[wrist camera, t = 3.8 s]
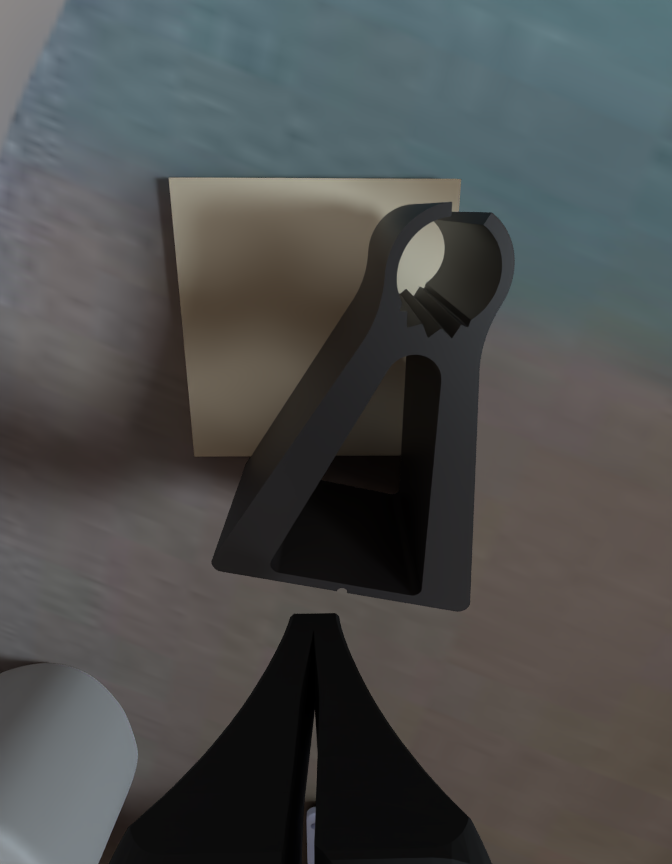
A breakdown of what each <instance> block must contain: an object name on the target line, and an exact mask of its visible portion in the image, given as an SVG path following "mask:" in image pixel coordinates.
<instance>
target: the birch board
mask: <svg viewBox="0 0 672 864" xmlns="http://www.w3.org/2000/svg"><path fill="white" fill-rule="evenodd" d="M169 186H170V197H171V208H172V219H173V230H174V241H175V252H176V262H177V273H178V284H179V295H180V306H181V317H182V328H183V338H184V349H185V360H186V371H187V382H188V393H189V404H190V414H191V425H192V436H193V447H194V457H222V456H252V454H253V452H254V451H255V449H256V448H257V446H258V445H259V443H260V441H261V440H262V438H263V437H264V435H265V434H266V432H267V431H268V429H269V428H270V426H271V425H272V423H273V421H274V420H275V418H276V417H277V415H278V414H279V412H280V411H281V409H282V408H283V406H284V405H285V403H286V402H287V400H288V398H289V397H290V395H291V394H292V392H293V391H294V389H295V388H296V386H297V385H298V383H299V382H300V380H301V379H302V377H303V375H304V374H305V372H306V371H307V369H308V368H309V366H310V365H311V363H312V362H313V360H314V359H315V357H316V355H317V354H318V352H319V351H320V349H321V348H322V346H323V345H324V343H325V342H326V340H327V339H328V337H329V336H330V334H331V332H332V331H333V329H334V328H335V326H336V325H337V323H338V322H339V320H340V319H341V317H342V316H343V314H344V313H345V311H346V309H347V308H348V306H349V305H350V303H351V302H352V300H353V299H354V297H355V295H356V294H357V292H358V290H359V288H360V285H361V283H362V280H363V277H364V274H365V270H366V265H367V259H368V248H369V242H370V239H371V236H372V233H373V231H374V229H375V228H376V226H377V224H378V223H379V222H380V221H381V219H382V218H383V217H384V216H385V215H387V214H388V213H389V212H391V211H392V210H394V209H396V208H398V207H401V206H404V205H409V204H423V203H439V202H452V212H459V201H460V186H461V179H360V178H169ZM444 250H445V245H444V239H443V235H442V233H441V231H440V229H439V227H438V226H437V225H436V223H435V222H434V221H433V222H431V223H429V224H428V225H426V226H425V227H423V228H422V229H421V230H420V231H418V232H417V233H416V234H415V235H414V237H413V238H412V239H411V240H410V242H409V243H408V244H407V246H406V248H405V249H404V251H403V254H402V256H401V259H400V262H399V265H398V271H397V288H398V292H399V293H401V292H403V291H404V290H405V289H407V290H408V291H409V292H410V293H411V294H412V295H413V296H414V295H415V293H416V291H417V290H418V288H419V287H422V288H424V287H425V284H426V283H427V282H428V281H429V280H430V279H431V278H432V277H433V276H434V275H435V274H436V273H437V271H438V270H439V268H440V266H441V264H442V261H443V257H444ZM405 369H406V356H405V357H402V358H400V359H399V360H397V361H396V362H395V363H394V364H393V365H392V366H391V367H390V368H389V370H388V371H387V373H386V374H385V376H384V378H383V379H382V381H381V383H380V384H379V386H378V387H377V389H376V391H375V392H374V394H373V396H372V397H371V399H370V400H369V402H368V404H367V405H366V407H365V409H364V410H363V412H362V413H361V415H360V417H359V418H358V420H357V422H356V423H355V425H354V426H353V428H352V430H351V431H350V433H349V435H348V436H347V438H346V440H345V441H344V443H343V444H342V446H341V448H340V449H339V451H338V453H337V454H336V456H360V455H401V444H402V425H403V407H404V388H405Z"/></svg>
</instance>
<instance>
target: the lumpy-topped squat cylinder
mask: <svg viewBox="0 0 672 864" xmlns="http://www.w3.org/2000/svg"><path fill="white" fill-rule="evenodd" d="M137 760H138V750H137V745H136V741H135V738H134V735H133V732H132V729H131V726H130V724H129V721H128V719H127V716H126V714H125V712H124V710H123V709H122V707H121V706H120V704H119V703H118V701H117V700H116V699H115V698H114V697H113V695H112V694H111V693H110V692H109V691H108V690H107V689H106V688H105V687H104V686H103V685H102V684H101V683H100V682H99V681H97V680H96V679H95V678H93V677H92V676H90V675H89V674H87V673H85V672H84V671H81V670H79V669H77V668H74V667H71V666H67V665H63V664H56V663H38V664H31V665H26V666H21V667H17V668H14V669H10V670H7V671H5V672H2V673H0V864H98V863H99V861H100V859H101V856H102V854H103V851H104V849H105V847H106V844H107V842H108V839H109V837H110V835H111V832H112V830H113V827H114V825H115V823H116V820H117V818H118V816H119V813H120V811H121V808H122V806H123V804H124V801H125V799H126V796H127V794H128V791H129V789H130V786H131V783H132V780H133V777H134V774H135V770H136V766H137Z"/></svg>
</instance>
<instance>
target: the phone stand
mask: <svg viewBox="0 0 672 864" xmlns="http://www.w3.org/2000/svg"><path fill="white" fill-rule="evenodd" d="M433 221H434V222H435V223H436V225H437V226H438V227H439V229H440V231H441V233H442V235H443V239H444V245H445V250H444V257H443V261H442V264H441V266H440V268H439V270H438V271H437V273H436V274H435V275H434V276H433V277H432V278H431V279H430V280H429V281H428V282H427V283H426V284H425V287H424V288H422V287H419V288H418V290H417V291H416V293H415V295H414V296H413V295H412V294H411V293H410V292H409V291H408V290H407V289H405V290H404V291H403V292H401V293H399V292H398V288H397V271H398V265H399V262H400V259H401V256H402V254H403V251H404V249H405V248H406V246H407V244H408V243H409V242H410V240H411V239H412V238H413V237H414V235H415V234H416V233H417V232H418V231H420V230H421V229H422V228H423V227H425V226H426V225H428V224H429V223H431V222H433ZM514 263H515V260H514V250H513V245H512V241H511V238H510V236H509V234H508V231H507V230H506V228H505V226H504V225H503V223H502V222H501V221H500V220H499V219H498V218H497V217H496V216H495V215H494V214H493V213H487V212H452V202H439V203H423V204H409V205H404V206H401V207H398V208H396V209H394V210H392V211H391V212H389V213H388V214H387V215H385V216H384V217H383V218H382V219H381V221H380V222H379V223H378V224H377V226H376V228H375V229H374V231H373V233H372V236H371V239H370V242H369V248H368V259H367V265H366V270H365V274H364V277H363V280H362V283H361V285H360V288H359V290H358V292H357V294H356V295H355V297H354V299H353V300H352V302H351V303H350V305H349V306H348V308H347V309H346V311H345V313H344V314H343V316H342V317H341V319H340V320H339V322H338V323H337V325H336V326H335V328H334V329H333V331H332V332H331V334H330V336H329V337H328V339H327V340H326V342H325V343H324V345H323V346H322V348H321V349H320V351H319V352H318V354H317V355H316V357H315V359H314V360H313V362H312V363H311V365H310V366H309V368H308V369H307V371H306V372H305V374H304V375H303V377H302V379H301V380H300V382H299V383H298V385H297V386H296V388H295V389H294V391H293V392H292V394H291V395H290V397H289V398H288V400H287V402H286V403H285V405H284V406H283V408H282V409H281V411H280V412H279V414H278V415H277V417H276V418H275V420H274V421H273V423H272V425H271V426H270V428H269V429H268V431H267V432H266V434H265V435H264V437H263V438H262V440H261V441H260V443H259V445H258V446H257V448H256V449H255V451H254V452H253V454H252V456H251V457H250V458H249V460H248V461H247V463H246V465H245V468H244V471H243V474H242V476H241V479H240V482H239V485H238V488H237V491H236V493H235V496H234V499H233V502H232V505H231V508H230V510H229V513H228V516H227V519H226V522H225V525H224V527H223V530H222V533H221V536H220V539H219V542H218V544H217V547H216V550H215V553H214V556H213V559H212V565H213V567H214V568H215V569H216V570H218V571H222V572H228V573H233V574H239V575H245V576H251V577H257V578H263V579H269V580H275V581H280V582H286V583H292V584H298V585H304V586H310V587H316V588H322V589H327V590H333V591H337V590H338V589H339V588H345V589H346V590H347V593H351V594H357V595H363V596H369V597H374V598H380V599H386V600H392V601H398V602H404V603H410V604H416V605H422V606H427V607H433V608H439V609H445V610H451V611H463V610H465V609H467V608H468V607H469V605H470V589H471V564H472V539H473V514H474V490H475V465H476V440H477V415H478V391H479V368H480V359H481V353H482V349H483V345H484V341H485V338H486V335H487V333H488V330H489V327H490V325H491V323H492V321H493V319H494V317H495V315H496V313H497V311H498V310H499V308H500V306H501V305H502V303H503V301H504V300H505V298H506V296H507V294H508V291H509V289H510V286H511V283H512V279H513V274H514ZM405 356H406V369H405V388H404V407H403V425H402V444H401V463H400V482H399V491H398V492H397V493H396V494H388V493H383V492H378V491H373V490H367V489H362V488H357V487H352V486H347V485H342V484H337V483H332V482H327V481H322V480H321V479H322V477H323V475H324V474H325V472H326V470H327V469H328V467H329V466H330V464H331V462H332V461H333V459H334V457H335V456H336V454H337V453H338V451H339V449H340V448H341V446H342V444H343V443H344V441H345V440H346V438H347V436H348V435H349V433H350V431H351V430H352V428H353V426H354V425H355V423H356V422H357V420H358V418H359V417H360V415H361V413H362V412H363V410H364V409H365V407H366V405H367V404H368V402H369V400H370V399H371V397H372V396H373V394H374V392H375V391H376V389H377V387H378V386H379V384H380V383H381V381H382V379H383V378H384V376H385V374H386V373H387V371H388V370H389V368H390V367H391V366H392V365H393V364H394V363H395V362H396V361H397V360H399V359H400V358H402V357H405Z"/></svg>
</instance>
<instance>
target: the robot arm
mask: <svg viewBox="0 0 672 864" xmlns="http://www.w3.org/2000/svg"><path fill="white" fill-rule="evenodd" d="M314 712H315V717H316V733H317V748H318V761H317V789H316V807H312V808H310V809H309V810H308V811H307V818H306V821H307V859H308V864H492V863H491V861H490V858H489V856H488V853H487V851H486V849H485V847H484V845H483V842H482V840H481V838H480V836H479V834H478V832H477V830H476V828H475V826H474V824H473V822H472V820H471V819H470V818H469V817H468V816H467V815H466V814H465V813H464V812H463V811H462V810H461V809H460V808H459V807H458V806H457V805H456V804H455V803H454V802H453V801H452V800H451V799H450V798H449V797H448V796H447V795H446V794H445V793H444V792H443V791H442V789H441V788H440V787H439V786H438V785H437V784H436V783H435V782H434V781H433V779H432V778H431V777H430V776H429V775H428V774H427V773H426V772H425V770H424V769H423V768H422V767H421V766H420V764H419V763H418V762H417V760H416V759H415V758H414V757H413V755H412V754H411V753H410V752H409V750H408V749H407V748H406V747H405V745H404V744H403V743H402V742H401V740H400V739H399V737H398V736H397V735H396V733H395V732H394V730H393V729H392V727H391V726H390V725H389V723H388V722H387V720H386V719H385V717H384V715H383V714H382V712H381V711H380V709H379V708H378V706H377V704H376V703H375V701H374V699H373V698H372V696H371V694H370V692H369V690H368V689H367V687H366V685H365V683H364V681H363V679H362V677H361V675H360V673H359V671H358V669H357V667H356V665H355V662H354V660H353V658H352V656H351V653H350V651H349V649H348V646H347V643H346V641H345V638H344V635H343V632H342V628H341V624H340V619H339V616H338V615H337V614H336V613H323V614H293V615H292V616H291V617H290V620H289V623H288V626H287V628H286V631H285V633H284V635H283V638H282V640H281V642H280V644H279V646H278V648H277V650H276V652H275V654H274V656H273V658H272V659H271V661H270V663H269V665H268V667H267V669H266V670H265V672H264V674H263V675H262V677H261V679H260V680H259V682H258V683H257V685H256V687H255V688H254V690H253V691H252V693H251V695H250V696H249V698H248V699H247V701H246V702H245V703H244V705H243V706H242V708H241V709H240V711H239V712H238V713H237V715H236V716H235V717H234V719H233V720H232V721H231V723H230V724H229V725H228V726H227V728H226V729H225V730H224V731H223V733H222V734H221V735H220V736H219V737H218V739H217V740H216V741H215V742H214V744H213V745H212V746H211V747H210V748H209V749H208V751H207V752H206V753H205V754H204V755H203V756H202V757H201V758H200V759H199V760H198V762H197V763H196V764H195V765H194V766H193V767H192V768H191V769H190V770H189V771H188V772H187V773H186V774H185V775H184V776H183V777H182V778H181V779H180V780H179V781H178V782H177V783H176V784H175V785H174V786H173V787H172V788H171V789H170V790H169V791H168V792H167V793H166V794H165V795H164V796H163V797H162V798H161V799H160V800H158V801H157V802H156V803H155V804H154V805H153V806H152V807H151V808H150V809H148V810H147V811H146V812H145V813H144V814H143V815H142V816H141V817H140V818H138V819H137V820H136V821H135V822H134V823H133V824H132V825H130V826H129V827H128V829H127V831H126V832H125V834H124V836H123V838H122V840H121V841H120V843H119V845H118V847H117V849H116V851H115V853H114V855H113V857H112V859H111V861H110V863H109V864H302V839H303V814H304V802H305V791H306V782H307V773H308V765H309V756H310V747H311V738H312V729H313V721H314Z"/></svg>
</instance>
